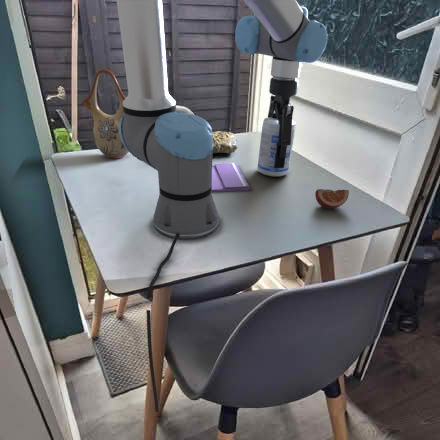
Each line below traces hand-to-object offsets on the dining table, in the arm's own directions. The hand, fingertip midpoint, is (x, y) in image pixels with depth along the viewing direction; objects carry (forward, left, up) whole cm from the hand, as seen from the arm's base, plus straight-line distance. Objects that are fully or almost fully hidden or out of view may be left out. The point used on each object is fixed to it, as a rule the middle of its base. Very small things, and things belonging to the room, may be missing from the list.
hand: (274, 161), depth 117 cm
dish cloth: (-3, +17, -4) cm, 17 cm away
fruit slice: (-25, -8, -4) cm, 27 cm away
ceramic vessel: (+18, +48, -4) cm, 51 cm away
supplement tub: (0, 0, -3) cm, 3 cm away
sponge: (+18, +18, -4) cm, 26 cm away
